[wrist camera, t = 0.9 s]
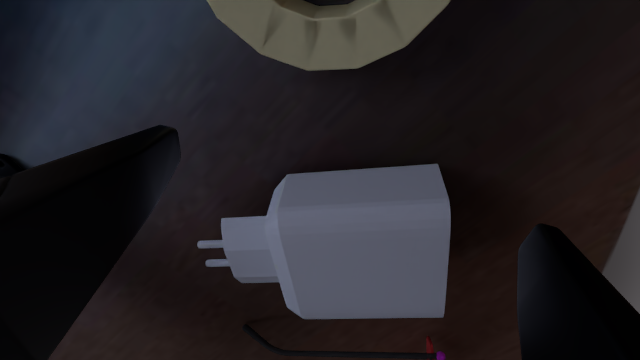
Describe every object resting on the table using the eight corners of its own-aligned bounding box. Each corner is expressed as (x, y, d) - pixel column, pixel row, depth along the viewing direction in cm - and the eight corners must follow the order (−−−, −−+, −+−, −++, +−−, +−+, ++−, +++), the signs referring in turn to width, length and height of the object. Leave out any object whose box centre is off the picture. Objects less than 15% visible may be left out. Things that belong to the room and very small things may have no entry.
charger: (192, 174, 24) (436, 156, 22) (231, 273, 29) (432, 266, 27) (161, 224, 20) (453, 209, 18) (212, 327, 26) (444, 325, 23)
